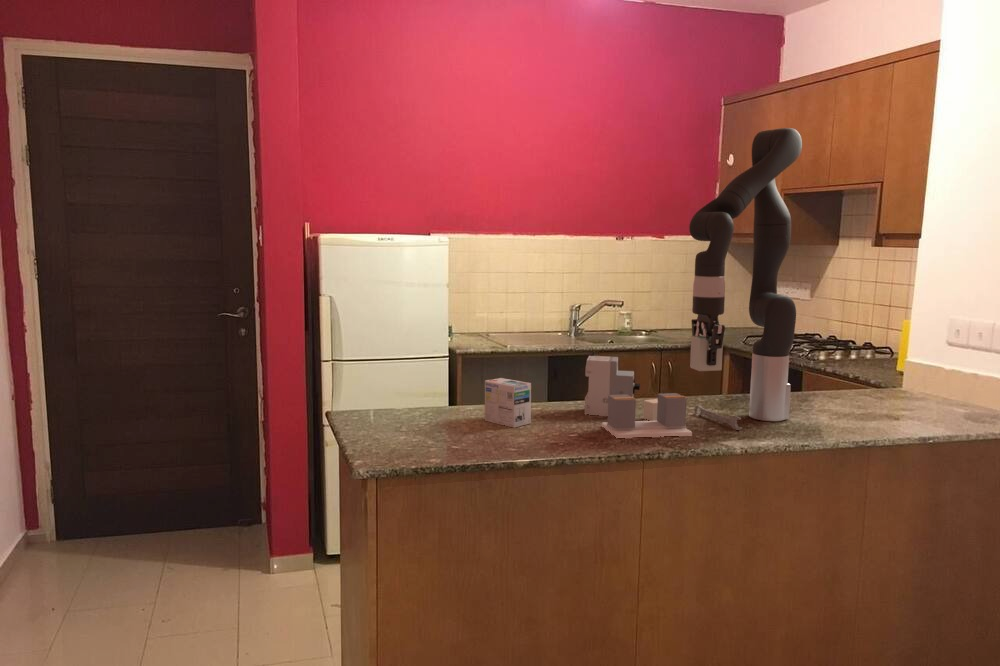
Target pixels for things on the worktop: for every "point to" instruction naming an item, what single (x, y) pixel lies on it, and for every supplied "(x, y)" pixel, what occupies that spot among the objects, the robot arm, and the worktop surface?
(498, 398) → the light bulb box
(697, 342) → the block
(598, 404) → the circuit breaker
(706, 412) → the combination wrench
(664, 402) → the rail board
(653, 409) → the beige block
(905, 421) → the worktop surface
